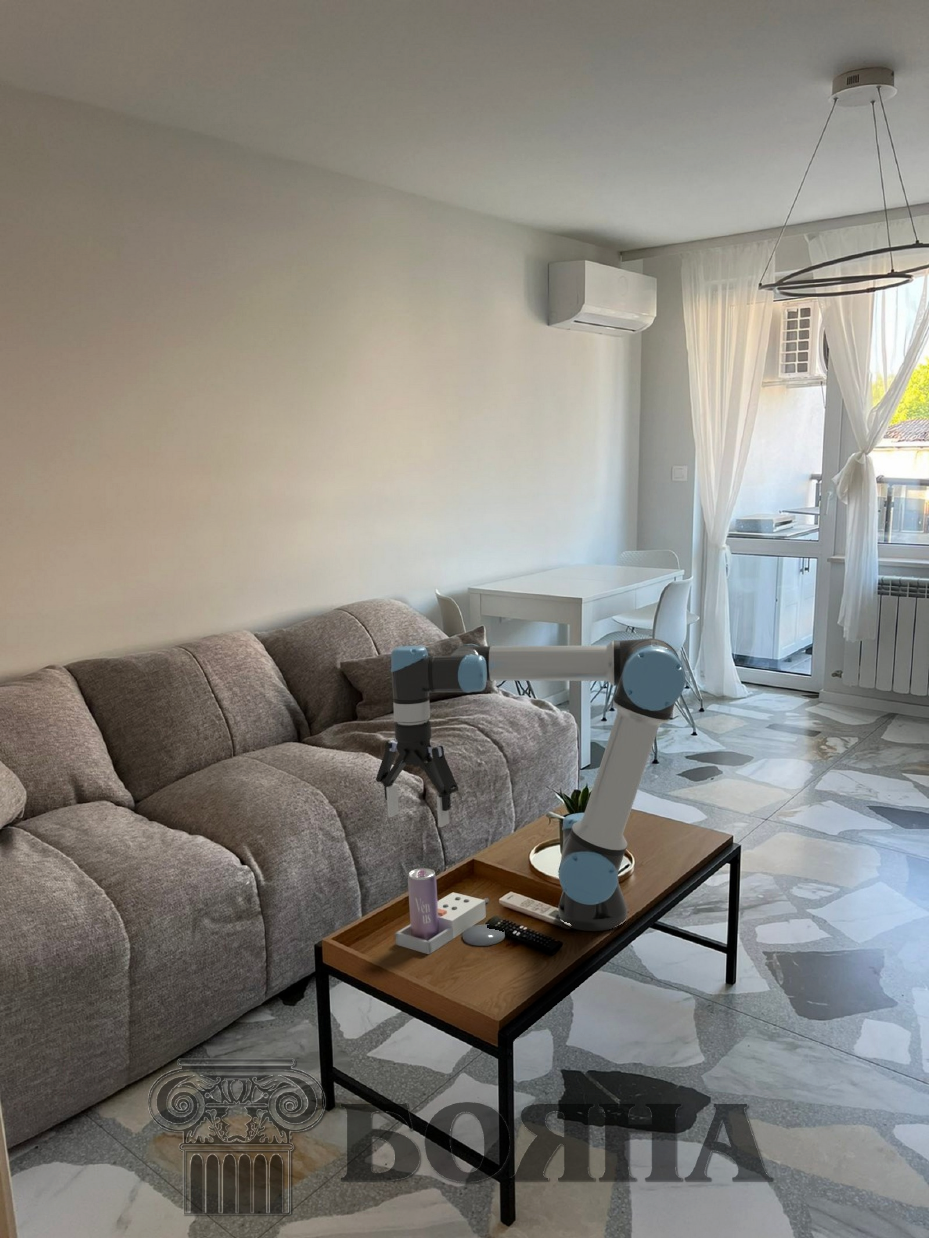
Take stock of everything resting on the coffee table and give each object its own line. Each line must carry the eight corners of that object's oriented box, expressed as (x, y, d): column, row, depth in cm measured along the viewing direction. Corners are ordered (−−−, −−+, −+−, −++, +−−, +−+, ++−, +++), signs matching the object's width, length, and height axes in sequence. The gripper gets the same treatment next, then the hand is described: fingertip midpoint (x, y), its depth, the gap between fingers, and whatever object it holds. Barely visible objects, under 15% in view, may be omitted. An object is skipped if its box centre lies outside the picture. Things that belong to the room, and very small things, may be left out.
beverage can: (439, 933, 203) (435, 867, 202) (439, 946, 197) (435, 877, 196) (411, 935, 203) (407, 868, 201) (411, 948, 197) (407, 879, 196)
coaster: (512, 932, 202) (512, 930, 202) (488, 949, 195) (488, 946, 195) (478, 923, 207) (478, 921, 207) (454, 939, 200) (454, 937, 200)
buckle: (471, 898, 221) (470, 879, 221) (503, 905, 216) (502, 886, 215) (395, 944, 199) (394, 923, 199) (429, 954, 194) (427, 933, 194)
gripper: (471, 722, 191) (476, 824, 193) (379, 712, 205) (385, 806, 208) (449, 730, 185) (454, 835, 187) (355, 719, 199) (362, 816, 202)
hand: (418, 820), depth 197 cm, fingers open, 13 cm apart
